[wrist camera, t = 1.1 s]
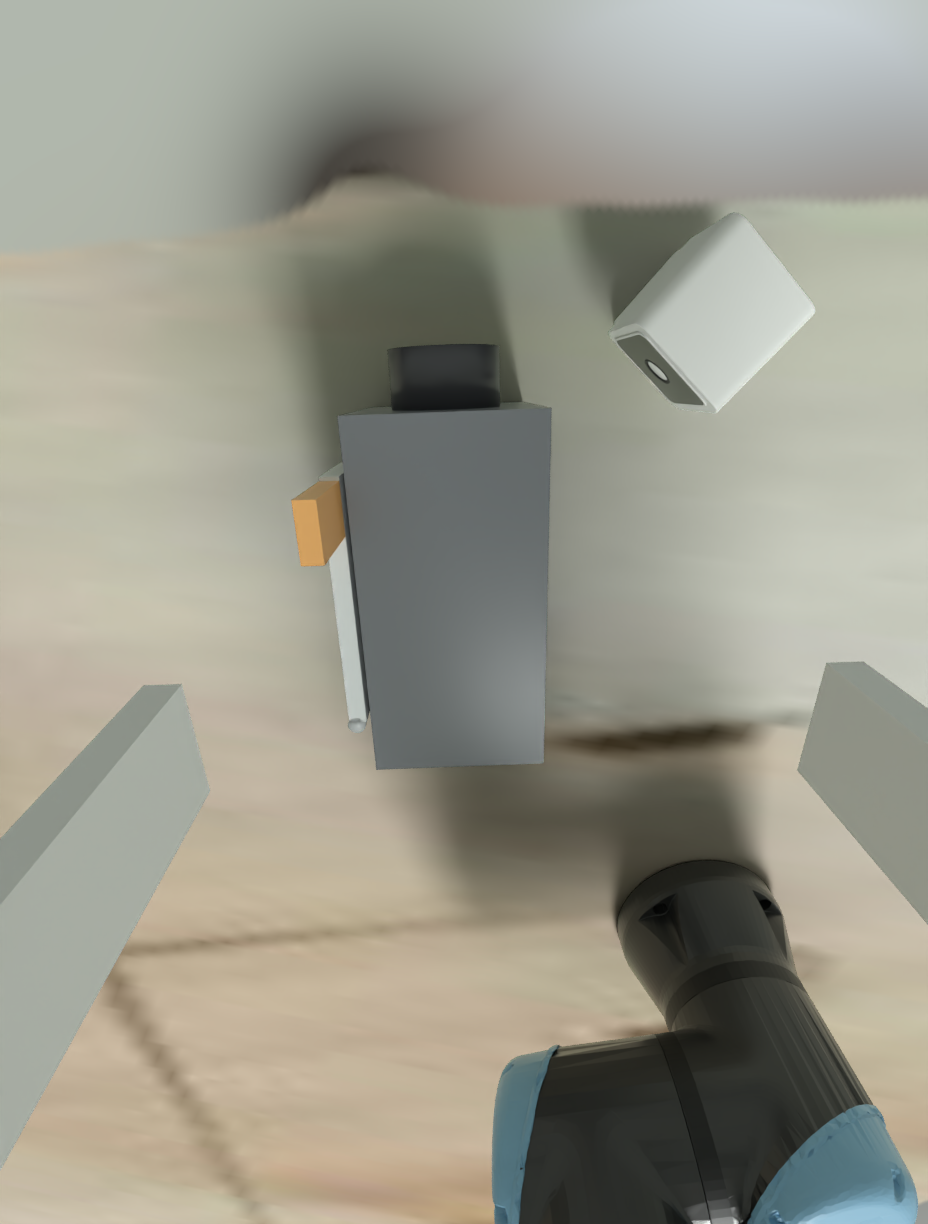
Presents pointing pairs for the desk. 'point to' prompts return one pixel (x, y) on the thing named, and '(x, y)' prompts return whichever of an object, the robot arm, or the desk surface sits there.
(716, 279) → the security camera
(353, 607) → the hinged cabinet door
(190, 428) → the desk surface
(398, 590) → the camera body
